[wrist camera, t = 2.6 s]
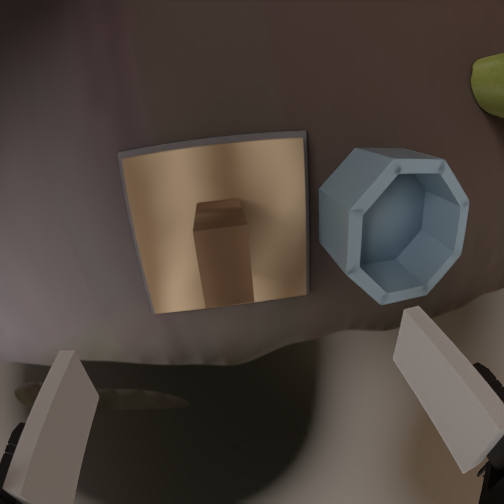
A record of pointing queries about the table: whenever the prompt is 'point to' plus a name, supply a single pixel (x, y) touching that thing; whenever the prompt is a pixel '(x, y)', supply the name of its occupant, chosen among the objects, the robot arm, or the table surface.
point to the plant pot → (489, 84)
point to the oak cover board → (214, 180)
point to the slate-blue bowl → (393, 221)
